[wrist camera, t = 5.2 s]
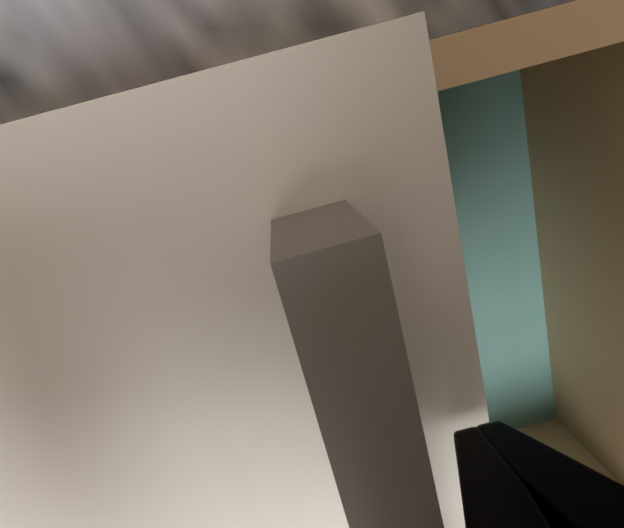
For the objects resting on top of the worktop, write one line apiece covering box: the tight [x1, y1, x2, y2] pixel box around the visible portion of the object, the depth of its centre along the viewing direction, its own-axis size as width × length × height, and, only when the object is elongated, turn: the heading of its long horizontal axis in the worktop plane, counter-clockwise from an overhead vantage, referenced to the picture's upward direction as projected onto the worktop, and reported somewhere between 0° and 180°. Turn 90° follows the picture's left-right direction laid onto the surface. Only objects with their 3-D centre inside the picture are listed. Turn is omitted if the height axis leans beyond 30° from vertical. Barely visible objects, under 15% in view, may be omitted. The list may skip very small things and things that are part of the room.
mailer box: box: [429, 0, 624, 485], centre depth 11 cm, size 18×13×5 cm
